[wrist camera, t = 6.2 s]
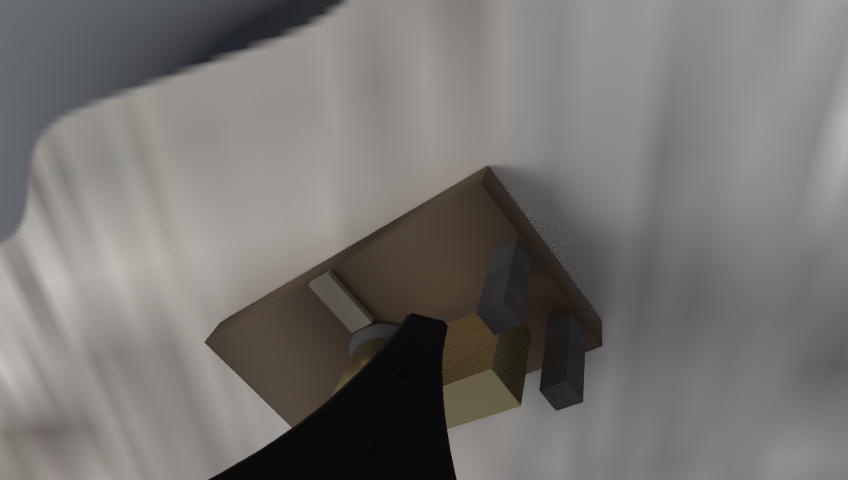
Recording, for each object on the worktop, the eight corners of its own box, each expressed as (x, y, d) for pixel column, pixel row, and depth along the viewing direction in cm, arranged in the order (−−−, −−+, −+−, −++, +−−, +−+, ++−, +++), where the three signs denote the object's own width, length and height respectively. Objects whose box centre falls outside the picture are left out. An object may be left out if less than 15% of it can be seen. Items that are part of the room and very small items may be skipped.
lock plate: (487, 165, 15) (460, 240, 12) (602, 321, 17) (601, 419, 14) (220, 322, 21) (158, 399, 18) (326, 428, 22) (286, 515, 19)
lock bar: (382, 403, 19) (355, 472, 16) (337, 352, 18) (302, 418, 16) (541, 346, 16) (532, 420, 14) (495, 283, 15) (478, 352, 13)
